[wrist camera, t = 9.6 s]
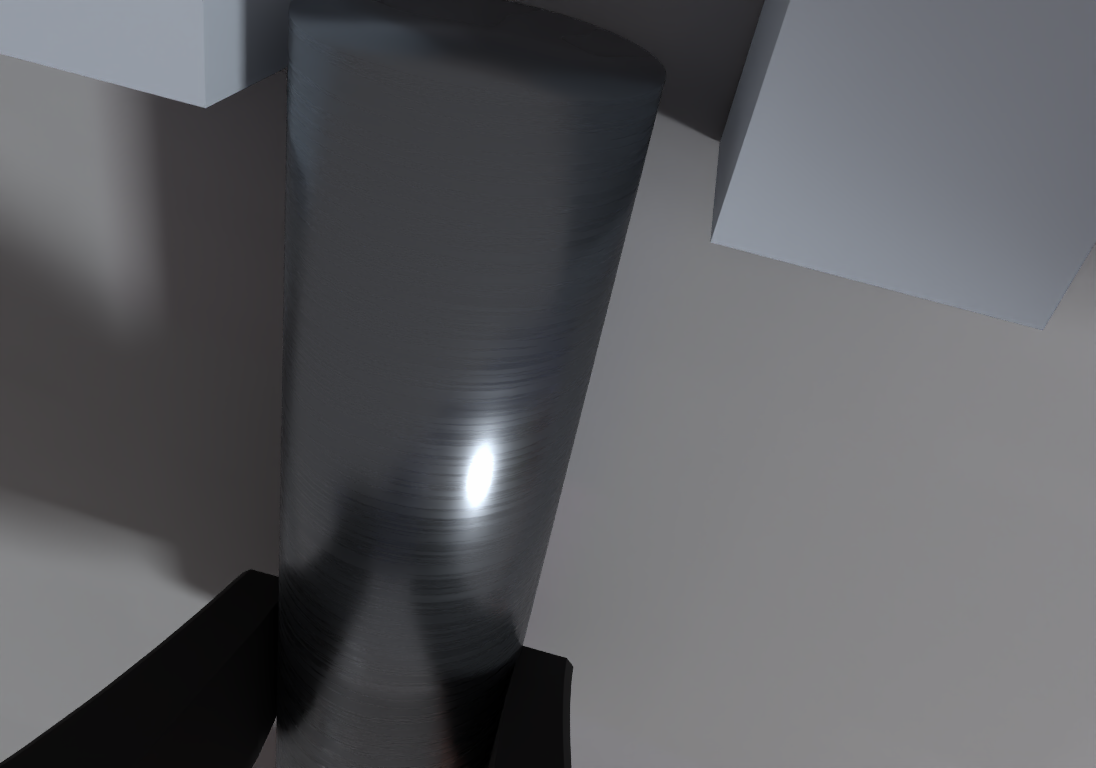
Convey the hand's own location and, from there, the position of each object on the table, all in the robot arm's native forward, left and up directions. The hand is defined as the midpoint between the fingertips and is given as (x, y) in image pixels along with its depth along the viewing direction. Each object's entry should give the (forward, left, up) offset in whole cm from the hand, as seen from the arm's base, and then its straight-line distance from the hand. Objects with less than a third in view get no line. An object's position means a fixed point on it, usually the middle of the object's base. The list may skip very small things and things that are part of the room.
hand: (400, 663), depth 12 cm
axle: (0, -3, -1) cm, 3 cm away
